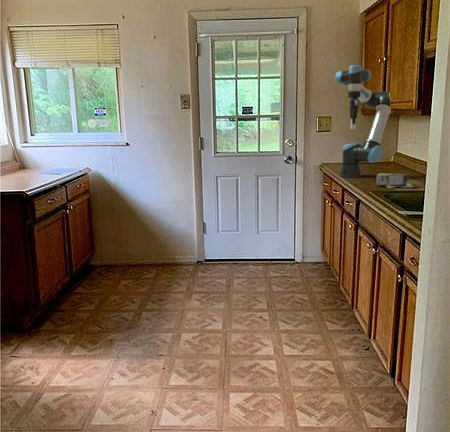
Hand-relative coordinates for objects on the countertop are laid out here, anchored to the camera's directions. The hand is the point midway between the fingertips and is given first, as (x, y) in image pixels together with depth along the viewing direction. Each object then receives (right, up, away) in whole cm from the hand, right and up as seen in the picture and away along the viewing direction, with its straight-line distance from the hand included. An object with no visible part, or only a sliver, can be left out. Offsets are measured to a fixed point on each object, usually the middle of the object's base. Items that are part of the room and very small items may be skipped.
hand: (353, 129), depth 291 cm
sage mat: (+25, -36, -7) cm, 44 cm away
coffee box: (+14, -32, -8) cm, 36 cm away
